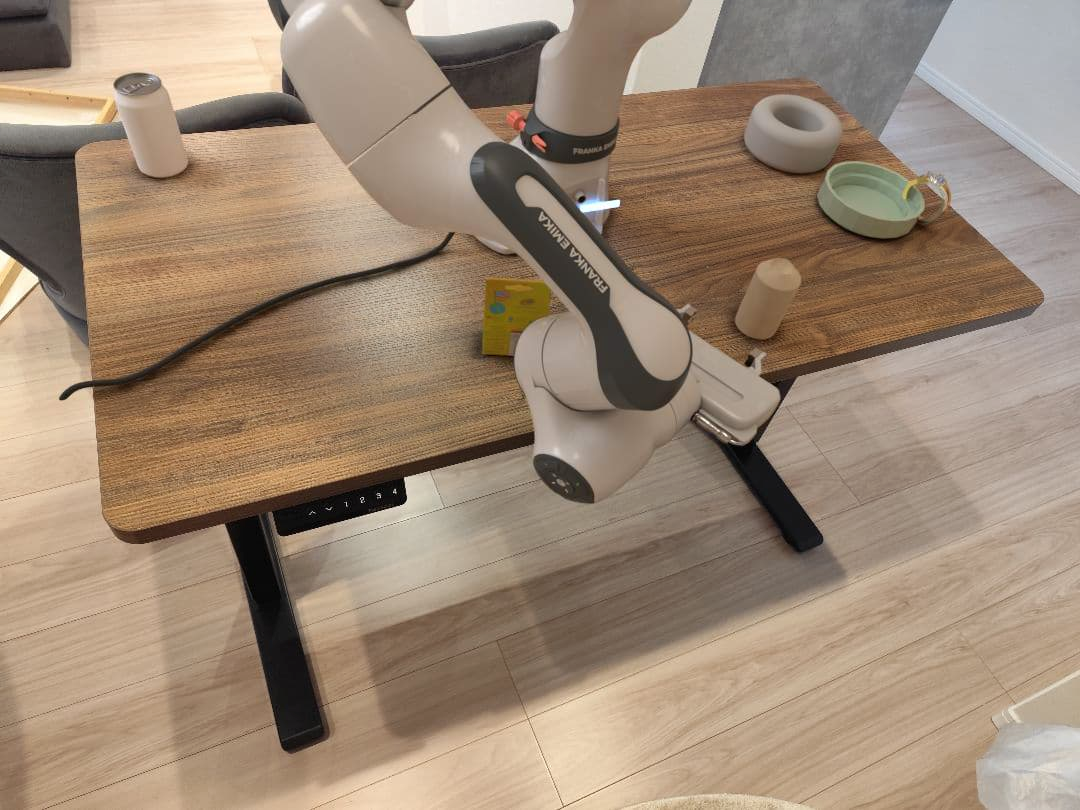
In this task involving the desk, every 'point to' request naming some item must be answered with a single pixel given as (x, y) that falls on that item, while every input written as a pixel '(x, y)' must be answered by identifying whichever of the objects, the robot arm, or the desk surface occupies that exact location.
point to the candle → (767, 298)
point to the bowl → (869, 200)
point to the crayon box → (511, 311)
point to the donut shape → (793, 133)
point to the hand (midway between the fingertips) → (725, 332)
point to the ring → (939, 183)
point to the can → (150, 124)
